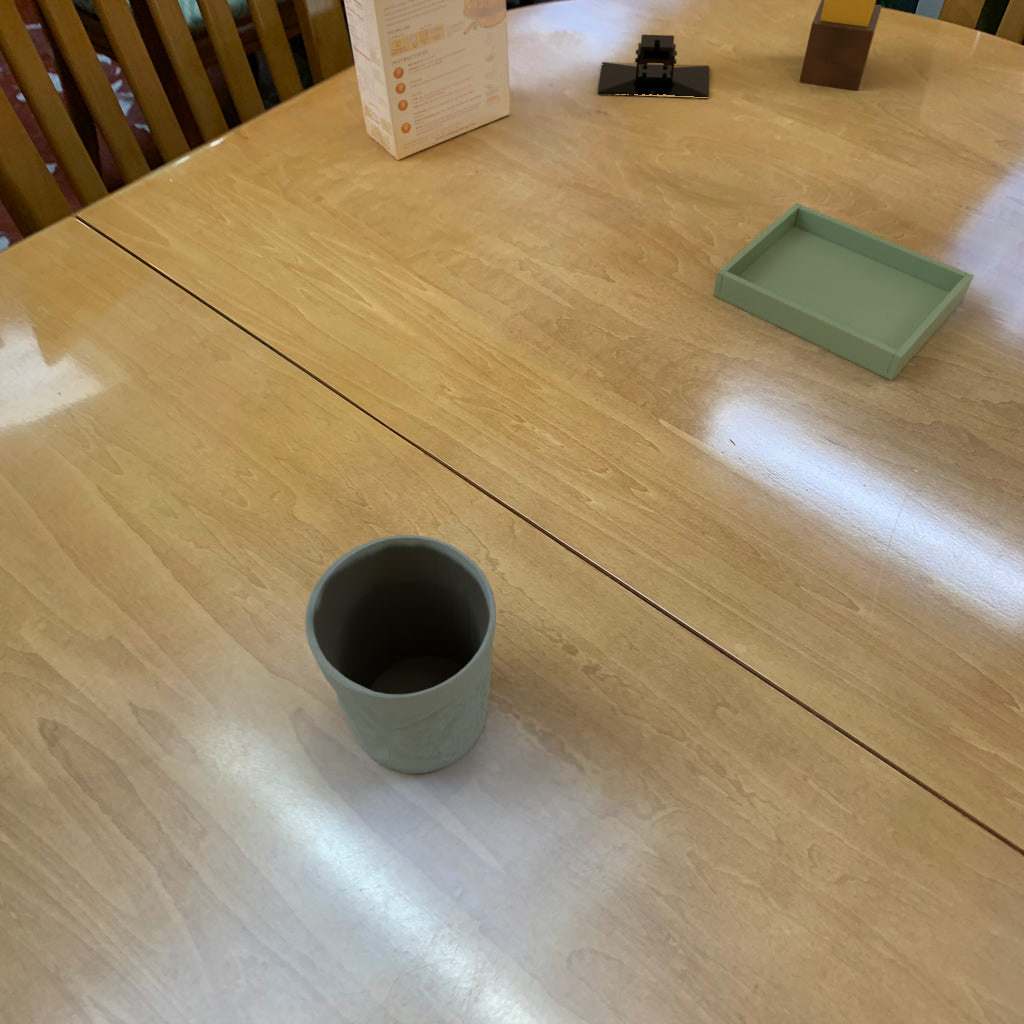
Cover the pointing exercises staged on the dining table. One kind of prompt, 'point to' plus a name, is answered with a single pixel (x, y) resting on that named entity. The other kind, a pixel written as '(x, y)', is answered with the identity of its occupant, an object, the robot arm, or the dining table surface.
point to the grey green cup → (406, 648)
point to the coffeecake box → (429, 68)
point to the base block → (838, 52)
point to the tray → (843, 289)
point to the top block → (848, 11)
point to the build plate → (654, 72)
